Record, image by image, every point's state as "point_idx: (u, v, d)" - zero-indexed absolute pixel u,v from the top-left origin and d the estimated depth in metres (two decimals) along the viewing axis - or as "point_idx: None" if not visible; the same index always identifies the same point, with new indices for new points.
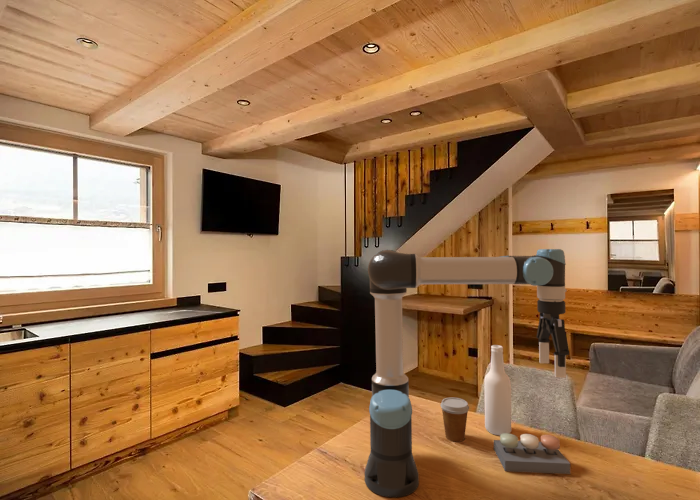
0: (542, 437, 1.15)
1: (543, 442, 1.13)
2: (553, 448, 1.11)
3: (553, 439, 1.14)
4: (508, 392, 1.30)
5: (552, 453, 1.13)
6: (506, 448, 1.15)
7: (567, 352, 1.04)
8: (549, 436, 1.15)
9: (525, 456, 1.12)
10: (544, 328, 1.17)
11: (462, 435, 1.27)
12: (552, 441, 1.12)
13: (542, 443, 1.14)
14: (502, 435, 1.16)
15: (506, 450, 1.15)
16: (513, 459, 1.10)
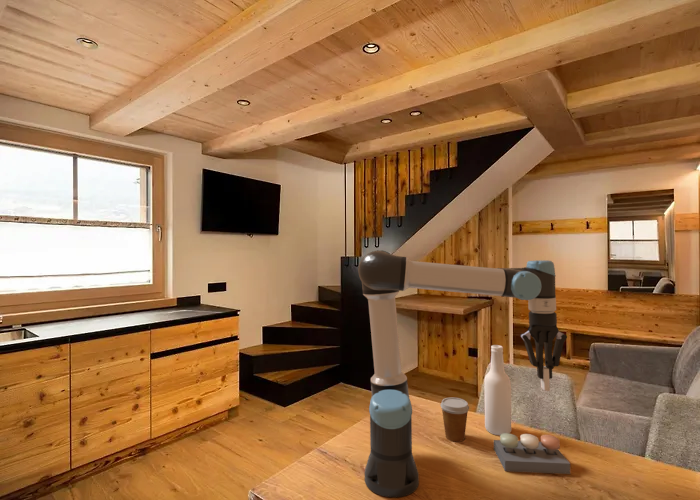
0: (542, 437, 1.15)
1: (543, 442, 1.13)
2: (553, 448, 1.11)
3: (553, 439, 1.14)
4: (508, 392, 1.30)
5: (552, 453, 1.13)
6: (506, 448, 1.15)
7: (532, 364, 1.14)
8: (549, 436, 1.15)
9: (525, 456, 1.12)
10: (544, 342, 1.15)
11: (462, 435, 1.27)
12: (552, 441, 1.12)
13: (542, 443, 1.14)
14: (502, 435, 1.16)
15: (506, 450, 1.15)
16: (513, 459, 1.10)
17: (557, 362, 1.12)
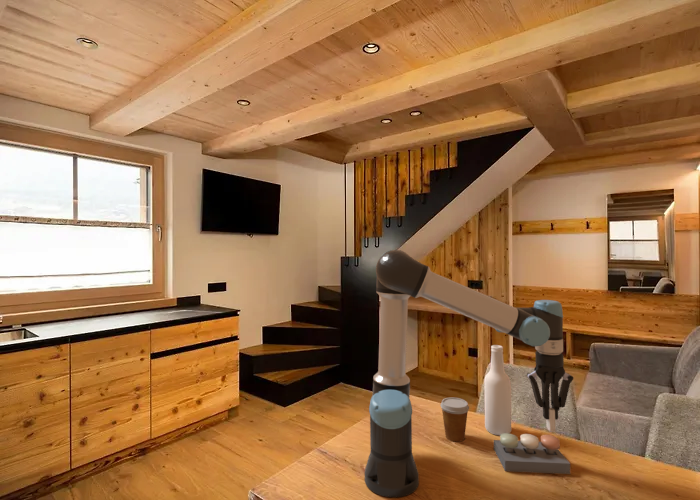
0: (542, 437, 1.15)
1: (543, 442, 1.13)
2: (553, 448, 1.11)
3: (553, 439, 1.14)
4: (508, 392, 1.30)
5: (552, 453, 1.13)
6: (506, 448, 1.15)
7: None
8: (549, 436, 1.15)
9: (525, 456, 1.12)
10: (550, 382, 1.15)
11: (462, 435, 1.27)
12: (552, 441, 1.12)
13: (542, 443, 1.14)
14: (502, 435, 1.16)
15: (506, 450, 1.15)
16: (513, 459, 1.10)
17: (563, 403, 1.12)
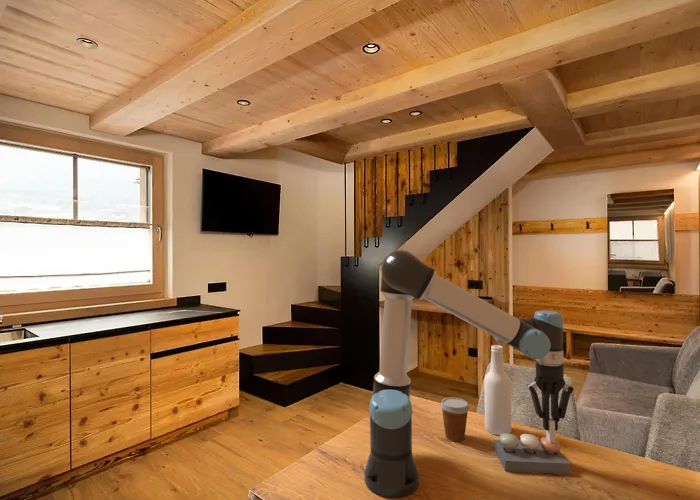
0: (542, 439, 1.15)
1: (543, 444, 1.13)
2: (553, 450, 1.11)
3: None
4: (508, 392, 1.30)
5: None
6: (506, 448, 1.15)
7: None
8: None
9: (525, 456, 1.12)
10: (550, 393, 1.15)
11: (462, 435, 1.27)
12: (552, 444, 1.12)
13: (542, 446, 1.14)
14: (502, 435, 1.16)
15: (506, 450, 1.15)
16: (513, 459, 1.10)
17: (563, 414, 1.12)
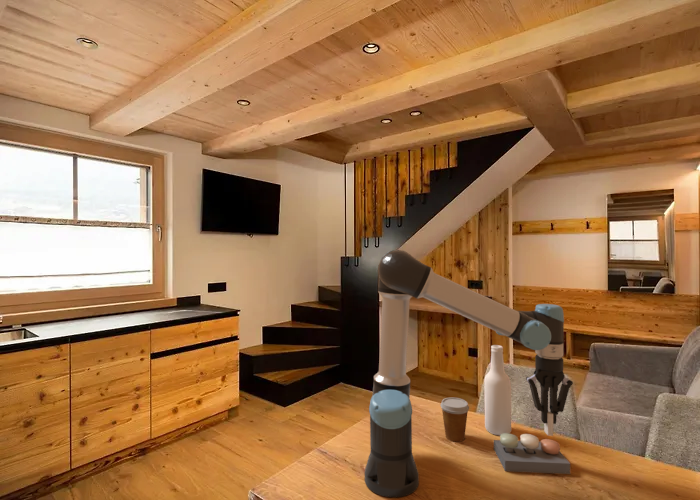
0: (542, 441, 1.15)
1: (543, 446, 1.13)
2: (553, 452, 1.11)
3: (553, 443, 1.14)
4: (508, 392, 1.30)
5: None
6: (506, 448, 1.15)
7: (537, 409, 1.13)
8: (549, 441, 1.15)
9: (525, 456, 1.12)
10: (549, 387, 1.15)
11: (462, 435, 1.27)
12: (552, 446, 1.12)
13: (542, 448, 1.14)
14: (502, 435, 1.16)
15: (506, 450, 1.15)
16: (513, 459, 1.10)
17: (562, 408, 1.12)
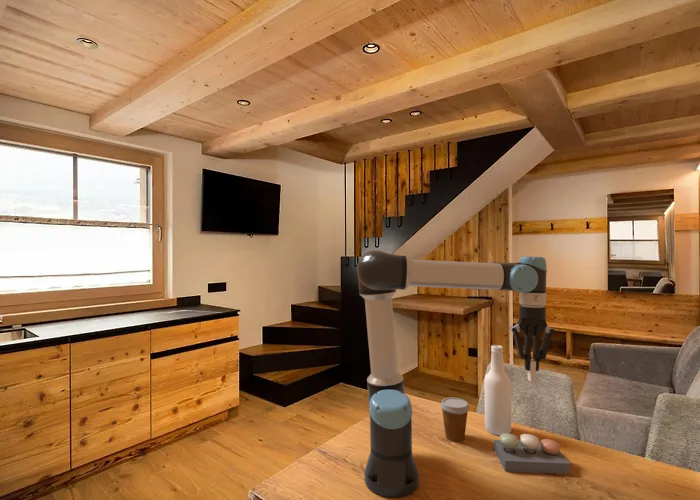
0: (542, 441, 1.15)
1: (543, 446, 1.13)
2: (553, 452, 1.11)
3: (553, 443, 1.14)
4: (508, 392, 1.30)
5: None
6: (506, 448, 1.15)
7: (520, 356, 1.18)
8: (549, 441, 1.15)
9: (525, 456, 1.12)
10: (533, 336, 1.19)
11: (462, 435, 1.27)
12: (552, 446, 1.12)
13: (542, 448, 1.14)
14: (502, 435, 1.16)
15: (506, 450, 1.15)
16: (513, 459, 1.10)
17: (544, 355, 1.16)
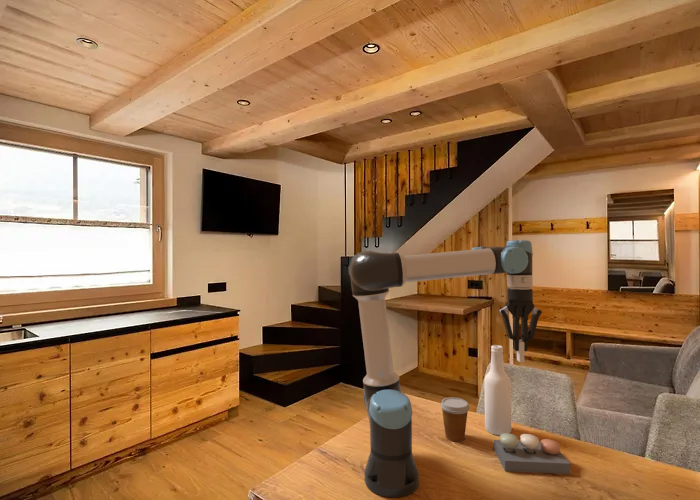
0: (542, 441, 1.15)
1: (543, 446, 1.13)
2: (553, 452, 1.11)
3: (553, 443, 1.14)
4: (508, 392, 1.30)
5: None
6: (506, 448, 1.15)
7: (509, 337, 1.21)
8: (549, 441, 1.15)
9: (525, 456, 1.12)
10: (521, 317, 1.22)
11: (462, 435, 1.27)
12: (552, 446, 1.12)
13: (542, 448, 1.14)
14: (502, 435, 1.16)
15: (506, 450, 1.15)
16: (513, 459, 1.10)
17: (532, 335, 1.20)
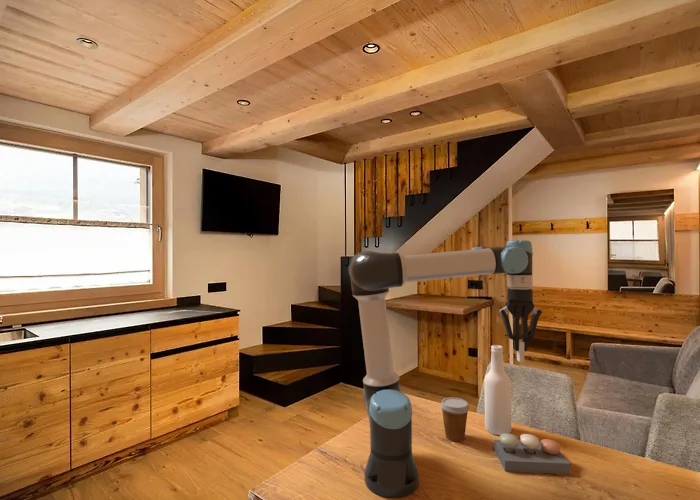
0: (542, 441, 1.15)
1: (543, 446, 1.13)
2: (553, 452, 1.11)
3: (553, 443, 1.14)
4: (508, 392, 1.30)
5: None
6: (506, 448, 1.15)
7: (509, 337, 1.21)
8: (549, 441, 1.15)
9: (525, 456, 1.12)
10: (521, 317, 1.22)
11: (462, 435, 1.27)
12: (552, 446, 1.12)
13: (542, 448, 1.14)
14: (502, 435, 1.16)
15: (506, 450, 1.15)
16: (513, 459, 1.10)
17: (532, 335, 1.20)
